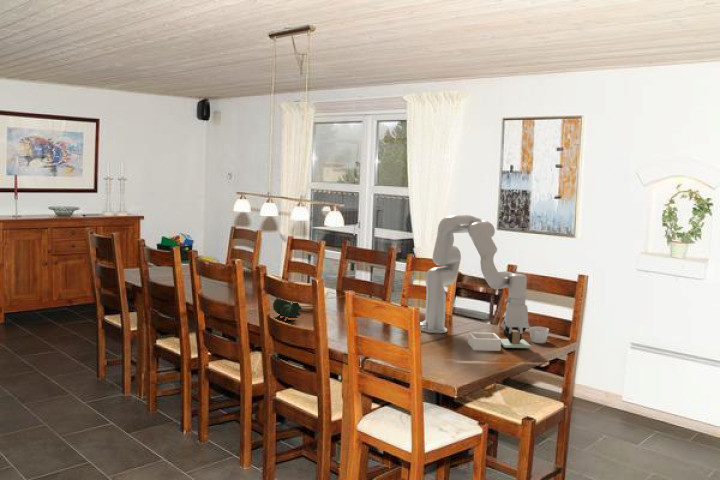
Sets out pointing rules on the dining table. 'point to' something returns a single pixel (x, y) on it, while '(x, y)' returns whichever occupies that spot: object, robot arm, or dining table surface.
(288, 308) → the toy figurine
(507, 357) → the dining table surface
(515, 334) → the lid
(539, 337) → the light grey bowl
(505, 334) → the coffee mug
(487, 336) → the box
